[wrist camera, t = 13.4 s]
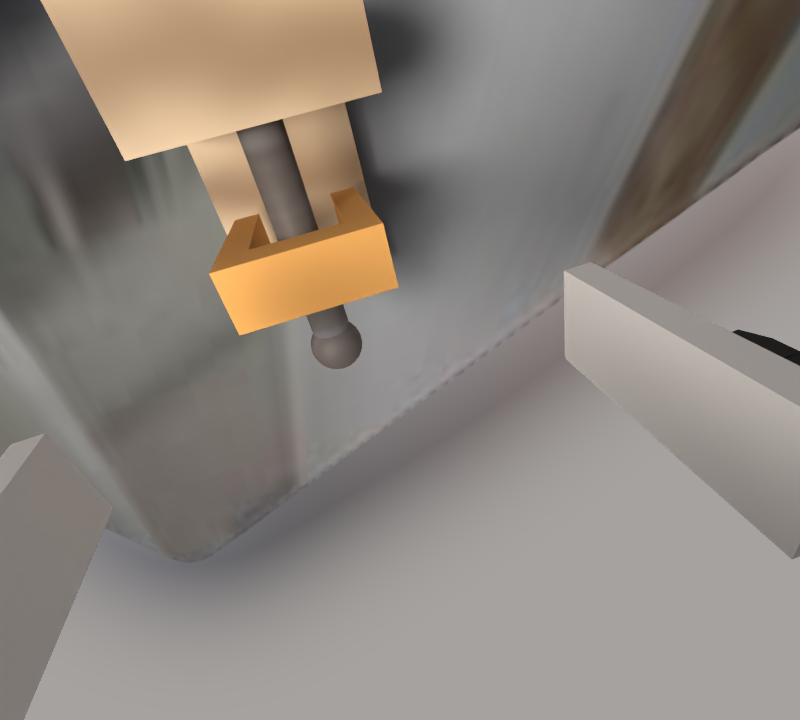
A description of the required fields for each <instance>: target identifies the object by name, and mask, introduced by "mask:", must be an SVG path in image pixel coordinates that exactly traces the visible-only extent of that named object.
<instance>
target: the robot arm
mask: <svg viewBox="0 0 800 720" xmlns="http://www.w3.org/2000/svg"><path fill="white" fill-rule="evenodd" d="M564 316H565V317H564V321H565V359H566V360H567V361H569V362H570V363H571V364H572V365H573V366H574V367H575V368H577V369H578V370H579V371H580V372H581V373H582V374H583V375H584V376H586V377H587V378H588V379H589V380H590V381H591V382H592V383H593V384H595V385H596V386H597V387H598V388H599V389H600V390H601V391H603V392H604V393H605V394H606V395H607V396H608V397H609V398H610V399H612V400H613V401H614V402H615V403H616V404H617V405H618V406H619V407H621V408H622V409H623V410H624V411H625V412H626V413H627V414H628V415H630V416H631V417H632V418H633V419H634V420H635V421H636V422H637V423H639V424H640V425H641V426H642V427H643V428H644V429H645V430H647V431H648V432H649V433H650V434H651V435H652V436H654V438H656V439H657V440H658V441H659V442H660V443H661V444H662V445H663V446H665V447H666V448H667V449H668V450H669V451H670V452H671V453H673V454H674V455H675V456H676V457H677V458H678V459H679V460H680V461H682V462H683V463H684V464H685V465H686V466H687V467H689V469H691V470H692V471H693V472H694V473H695V474H696V475H697V476H698V477H700V478H701V479H702V480H703V481H704V482H705V483H706V484H707V485H709V486H710V487H711V488H712V489H713V490H714V491H715V492H716V493H718V494H719V495H720V496H721V497H722V498H723V499H724V500H725V501H727V502H728V503H729V504H730V505H731V506H732V507H733V508H735V509H736V510H737V511H738V512H739V513H740V514H741V515H742V516H744V517H745V518H746V519H747V520H748V521H749V522H750V523H751V524H753V525H754V526H755V527H756V528H757V529H758V530H759V531H760V532H762V533H763V534H764V535H765V536H766V537H767V538H768V539H770V540H771V541H772V542H773V543H774V544H775V545H776V546H777V547H779V548H780V549H781V550H782V551H783V552H784V553H785V554H786V555H788V556H789V557H790V558H791V559H794V558H797V557H799V556H800V351H798V350H796V349H794V348H792V347H789V346H787V345H785V344H783V343H781V342H779V341H777V340H775V339H772V338H769V337H765V336H761V335H757V334H753V333H749V332H745V331H741V330H736V331H734V332H731V331H729V330H727V329H725V328H723V327H720V326H718V325H716V324H714V323H712V322H710V321H708V320H706V319H704V318H702V317H700V316H698V315H696V314H694V313H692V312H690V311H688V310H686V309H684V308H682V307H680V306H678V305H676V304H674V303H672V302H670V301H668V300H666V299H664V298H662V297H660V296H658V295H656V294H654V293H652V292H650V291H648V290H646V289H644V288H642V287H640V286H638V285H636V284H634V283H632V282H630V281H628V280H626V279H624V278H622V277H620V276H618V275H616V274H614V273H612V272H610V271H608V270H606V269H604V268H602V267H600V266H598V265H596V264H594V263H592V262H589V263H586V264H583V265H580V266H577V267H573V268H570V269H567V270H564ZM112 510H113V507H112V506H111V505H110V504H109V503H108V502H107V501H106V500H105V499H104V498H103V496H102V495H101V494H100V493H99V492H98V491H97V490H96V489H95V488H94V487H93V486H92V484H91V483H90V482H89V481H88V480H87V479H86V478H85V477H84V476H83V475H82V474H81V472H80V471H79V470H78V469H77V468H76V467H75V466H74V465H73V464H72V463H71V462H70V460H69V459H68V458H67V457H66V456H65V455H64V454H63V453H62V452H61V451H60V450H59V448H58V447H57V446H56V445H55V444H54V443H53V442H52V441H51V440H50V439H49V437H48V436H47V435H46V434H42V435H38V436H35V437H32V438H29V439H26V440H23V441H19V442H16V443H13V444H11V445H10V446H9V447H8V449H7V450H6V451H5V452H4V454H3V455H2V456H1V457H0V720H24V718H25V715H26V713H27V711H28V708H29V706H30V703H31V701H32V699H33V696H34V694H35V692H36V690H37V687H38V685H39V682H40V680H41V678H42V675H43V673H44V671H45V668H46V666H47V664H48V661H49V659H50V656H51V654H52V652H53V649H54V647H55V644H56V642H57V640H58V638H59V635H60V633H61V630H62V628H63V626H64V623H65V621H66V619H67V616H68V614H69V612H70V609H71V606H72V604H73V602H74V600H75V597H76V595H77V593H78V590H79V588H80V586H81V583H82V581H83V578H84V576H85V574H86V571H87V569H88V567H89V564H90V561H91V560H92V557H93V555H94V552H95V550H96V548H97V545H98V543H99V540H100V538H101V536H102V534H103V531H104V529H105V526H106V524H107V522H108V519H109V517H110V515H111V512H112Z"/></svg>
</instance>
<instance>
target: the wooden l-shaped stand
mask: <svg viewBox="0 0 800 720" xmlns="http://www.w3.org/2000/svg"><path fill="white" fill-rule="evenodd" d="M41 2H42V4H43V6H44V7H45V9H46V11H47V13H48V15H49V17H50V19H51V21H52V23H53V25H54V27H55V28H56V30H57V32H58V34H59V36H60V38H61V40H62V42H63V44H64V46H65V47H66V49H67V51H68V53H69V55H70V57H71V59H72V61H73V63H74V65H75V66H76V68H77V70H78V72H79V74H80V76H81V78H82V80H83V82H84V84H85V85H86V87H87V89H88V91H89V93H90V95H91V97H92V99H93V101H94V103H95V104H96V106H97V108H98V110H99V112H100V114H101V116H102V118H103V120H104V122H105V124H106V125H107V127H108V129H109V131H110V133H111V135H112V137H113V139H114V141H115V143H116V144H117V146H118V148H119V150H120V152H121V154H122V156H123V158H124V160H125V161H127V160H131V159H135V158H138V157H142V156H146V155H150V154H153V153H157V152H161V151H164V150H168V149H172V148H176V147H179V146H183V145H187V146H188V148H189V150H190V152H191V155H192V157H193V159H194V161H195V164H196V166H197V168H198V170H199V173H200V175H201V177H202V179H203V182H204V184H205V186H206V188H207V191H208V193H209V195H210V197H211V200H212V202H213V204H214V206H215V209H216V211H217V213H218V215H219V218H220V220H221V222H222V224H223V227H224V229H225V231H226V233H227V236H228V234H229V231H230V229H231V227H232V225H233V223H234V221H235V220H238V219H241V218H245V217H248V216H252V215H256V214H259V215H260V218H261V220H262V223H263V225H264V228H265V230H266V233H267V235H268V238H269V240H270V243H274V242H278V241H281V240H285V239H288V238H292V237H295V236H298V235H302V234H305V233H309V232H312V231H316V230H319V229H323V228H326V227H330V226H333V225H337V224H339V222H338V219H337V216H336V212H335V209H334V206H333V202H332V199H331V195H330V193H333V192H337V191H340V190H344V189H347V188H351V187H354V188H355V190H356V191H357V192H358V193H359V194H360V196H361V197H362V198H363V199H364V201H365V202H366V203H367V204H368V205H369V207H370V208H371V205H370V201H369V197H368V193H367V189H366V185H365V181H364V177H363V173H362V169H361V165H360V161H359V157H358V153H357V149H356V145H355V141H354V137H353V133H352V129H351V125H350V121H349V117H348V113H347V109H346V105H345V102H348V101H351V100H355V99H359V98H362V97H366V96H370V95H374V94H377V93H381V92H382V90H381V85H380V80H379V76H378V71H377V66H376V61H375V56H374V52H373V47H372V42H371V37H370V32H369V28H368V23H367V18H366V13H365V8H364V4H363V0H41ZM306 316H307V318H308V321H309V323H310V326H311V329H312V331H313V336H312V339H311V348H312V352H313V354H314V356H315V358H316V359H317V360H318V361H319V362H320V363H321V364H322V365H324V366H326V367H329V368H332V369H341V368H345V367H348V366H349V365H351V364H352V363H354V362H355V361H356V359H357V358H358V357H359V355H360V352H361V349H362V339H361V335H360V333H359V331H358V330H357V328H356V327H355V326H354V325H353V324H352V323H350V322H348V318H347V315H346V312H345V309H344V306H343V304H342V305H339V306H335V307H332V308H329V309H325V310H322V311H319V312H315V313H312V314H309V315H306Z"/></svg>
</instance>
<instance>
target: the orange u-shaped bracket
mask: <svg viewBox="0 0 800 720" xmlns="http://www.w3.org/2000/svg"><path fill="white" fill-rule="evenodd" d="M330 195H331V199H332V202H333V206H334V209H335V212H336V216H337V219H338V222H339V224H337V225H333V226H330V227H326V228H323V229H319V230H316V231H312V232H309V233H305V234H302V235H298V236H295V237H292V238H288V239H285V240H281V241H278V242H274V243H270V240H269V238H268V235H267V233H266V230H265V228H264V225H263V223H262V220H261V218H260V215H259V214H256V215H252V216H248V217H245V218H241V219H238V220H235V221H234V223H233V225H232V227H231V229H230V231H229V234H228V236H227V238H226V240H225V242H224V244H223V246H222V248H221V250H220V252H219V254H218V256H217V258H216V261H215V263H214V265H213V267H212V269H211V271H210V273H209V274H210V276H211V278H212V280H213V282H214V284H215V286H216V289H217V291H218V293H219V295H220V297H221V299H222V301H223V303H224V305H225V307H226V309H227V311H228V313H229V315H230V317H231V319H232V321H233V323H234V325H235V327H236V329H237V331H238V333H239V335H243V334H246V333H249V332H253V331H256V330H259V329H263V328H266V327H269V326H272V325H276V324H279V323H282V322H286V321H289V320H292V319H296V318H299V317H302V316H305V315H309V314H312V313H315V312H319V311H322V310H325V309H329V308H332V307H335V306H339V305H342V304H345V303H348V302H352V301H355V300H358V299H362V298H365V297H368V296H372V295H375V294H378V293H381V292H385V291H388V290H391V289H395V288H398V283H397V278H396V274H395V270H394V266H393V262H392V258H391V254H390V249H389V245H388V241H387V237H386V233H385V229H384V225H383V222H382V221H381V220H380V219H379V217H378V216H377V215H376V214H375V213H374V211H373V210H372V209H371V208H370V207H369V205H368V204H367V203H366V202H365V201H364V199H363V198H362V197H361V196H360V194H359V193H358V192H357V191H356V190H355V188H354V187H351V188H347V189H344V190H340V191H337V192H333V193H330Z"/></svg>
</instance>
